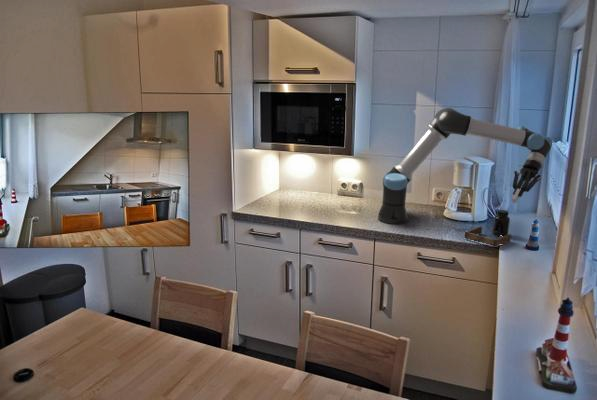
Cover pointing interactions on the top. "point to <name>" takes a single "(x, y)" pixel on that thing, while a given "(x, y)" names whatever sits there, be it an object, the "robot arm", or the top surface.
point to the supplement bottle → (501, 223)
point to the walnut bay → (473, 236)
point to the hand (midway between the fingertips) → (513, 201)
